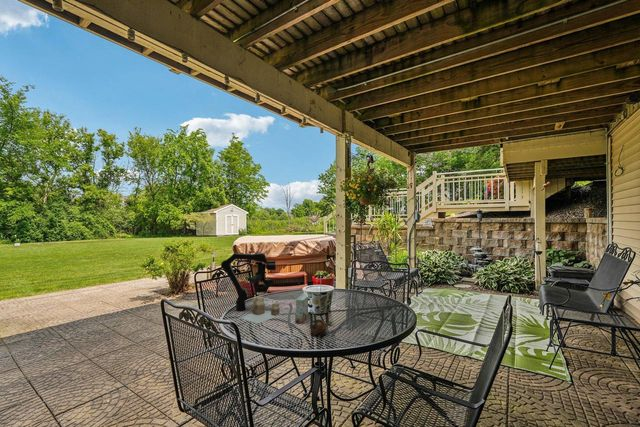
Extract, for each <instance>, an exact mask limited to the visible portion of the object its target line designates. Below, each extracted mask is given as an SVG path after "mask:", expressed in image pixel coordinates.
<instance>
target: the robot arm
mask: <svg viewBox="0 0 640 427" xmlns="http://www.w3.org/2000/svg"><path fill="white" fill-rule="evenodd" d="M235 260H249V261H250V260H253V261H255V263H254V265H255V266H257V268H256V271H257V272H255V274H254V275H253V276H251V277H250V278H249V282H250V283H251V284H252V285H253V287H254V290H255V292H258V289H259V284H260V283H263V286H264V294H267V293H268V290H269V288H270V287H271V285H272V284H273V283H274V280H273V279H272V278H267V277H266V274H267V271H276V270H277V269H276V268H277V266H276V260H272V261H271V260H270V261H269V260H268V259H267V258H266V254H265V253H263V252H258V253H240V252H239V253H237V252H234V253H233V254H232V255H230V257H228V259H224V260H223V261H221V264H220V268H222V270H223V271H224V272H225V273H227V275H228V277H229V280H231V282H232V284H233V286H234V288H235V289H236V293H237V296H238V297H237V298H236V301H235V310H236V312H245V311H246V302H245V301H247V300H248V297H249V296H248V295H249V292H248V291H247V288H246V287H243V286H242V285H241V283H240V281H239V279H238V278H237V276H236V273H235V272H234V270H233V266H232V263H233V262H234V261H235ZM266 270H267V271H266Z"/></svg>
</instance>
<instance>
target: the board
mask: <svg viewBox="0 0 640 427" xmlns="http://www.w3.org/2000/svg"><path fill="white" fill-rule="evenodd" d="M280 315H282V313H279V315H276V316H274V315H271V310H266V309H265V313H264V314H261V315H255V314H252V312H251V313H249V314H245V315H242V316H239V317H238V318H239V319H241V320H245V321H247V322H252V323H254V324H260V323H263V322H265V321H268V320H271V319H273V318H275V317H278V316H280Z"/></svg>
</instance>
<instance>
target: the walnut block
mask: <svg viewBox="0 0 640 427" xmlns="http://www.w3.org/2000/svg"><path fill="white" fill-rule="evenodd" d="M251 309H252V310H251V313H252V314H255V315H261V314H264V313H265V310H266V304H265V303H264V304H263V305H260V306H256V305H253V304H252V305H251Z"/></svg>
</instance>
